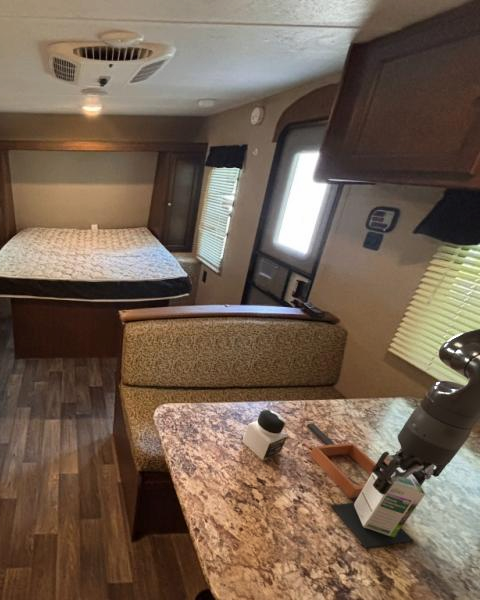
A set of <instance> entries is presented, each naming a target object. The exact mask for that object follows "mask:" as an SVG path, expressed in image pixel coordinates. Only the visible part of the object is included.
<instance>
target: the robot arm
mask: <svg viewBox="0 0 480 600" xmlns="http://www.w3.org/2000/svg"><path fill="white" fill-rule="evenodd" d="M438 358H439V360H440V361H441V363H443V364H444V365H445V366H447V367H448V368H450V369H451V370H453V371H454V372H456V373H458V374H459V375H461V376H462V377H463V378H465V379H466V380H468V382H467V383H466V384H465V385H464V384H461V383H458V382H454V381H449V380H439V381H437V382H434V383H433V384H432V385H431V386H430V388H429V389H428V391H427V392H426V394H425V396H424V397H423V399H422V400H421V402H420V403H419V405H418V406H416V408H415V409H413V411H412V412H411V414H410V416H409V417H408V418H407V420H406V422H405V423H404V425H403V427H402V428H401V430H400V431H399V433H398V434H397V441H398V443H399V445H400V449H398V450H397V451H395V452H394V454H391V453H390V452H389V451H384V452H383V453H382V454H381V455H380V457H379V459H377V462H375V463H376V465H375V466H374V468H373V470H372V472H373V473H374V474H375V475H376V476H377V479H376V481H375V482H374V484H373V486H374V488H375V489H376V490H377V491H378V492H379V493H381V494H386V493H387V492H388V490H389V489H390V487H391V486H392V485H393V483H394V482H395V481H397V480H398V479H399V478H402V479H405V478H407V477H408V476H409V475H411V474H412V475H413V476H414V477H415V478H416V480H417V481H418V483H419V484H420V486H421V487H422V485H423V484H424V482H425V481H427V480H431V478H432V476H433V477H435V478H437V477H439V476H440V475H441V473H442V472H443V471H444V469H445V468H446V467H447V466H448V464H449V463H450V462H452V460H453V459H454V457H455V456H456V455H457V454H458V452H459V451H460V450H461V448H462V447H463V446H464V444H465V443H466V442H467V440H468V439H469V438H470V435H471V433H472V431H473V430H474V428H475V426H476V425H477V423H478V422H479V421H480V328H477V329H474V330H469V331H466V332H462V333H458V334H456V335H454V336H452V337H450V338H449V339H447V340H446V341H445V342H443V344H442V345H441V346H440V348H439V350H438ZM397 468H398V469H401V470H403V471H404V472H400V471H399V470H397ZM394 472H395V475H393V473H394ZM392 475H393V476H392ZM391 476H392V477H391Z"/></svg>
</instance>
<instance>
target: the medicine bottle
mask: <svg viewBox="0 0 480 600" xmlns="http://www.w3.org/2000/svg"><path fill="white" fill-rule="evenodd" d="M285 425H286V420H285V419H284V418H283V416H282V415H281V414H279V413H278V412H276V411H273V410H270V409H264V410H261V411H260V413H259V415H258V418H257V420H255V421H252V422H250V423H248V424H247V426H246V430H245V433H244V435H243V438H242V443H243V444H244V445H245V446H246V447H247V448H248V449H249V450H251V451H252V453H254V454H255V455H256V456H257V457H258V458H259V459H260V460H261V461H262V462H263V461H267V460H268V459H271V458H272V457H275V456H277V455H279V454H281V452H282V449H283V447H284V445H285V443H286V441H287V438H288V434H287V433H286V432H285V431H283V430H284V427H285Z"/></svg>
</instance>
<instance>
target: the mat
mask: <svg viewBox="0 0 480 600" xmlns="http://www.w3.org/2000/svg"><path fill="white" fill-rule="evenodd" d="M354 503H355V502H348V503H339V504H332V505H330V508H331V509H332V510H333V512H335V513H336V514H337V516H338V517H339V518H340V519H341V520H342V522H343V523H344V524H345V525H346V526H347V527H348V529H349V530H350V531H351V532H352V533H353V534H354V536H355V537H356V538H357V539H358V540H359V542H360V543H361V544H362V546H363V547H365V548H366V549H370V548H378V547H384V546H392V545H398V544H404V543H411V542H414V539H413V538H412V537H411V536H410V535H409V534H408V533H407V532H405V530H404V529H403V527H401V529H400V530H399V532H398V533H397V534H396V536H395V537H391V536H389V535H386V534H383V533H380V532H377V531H374V530H371V529H368V528H364V527H363V525H362V523H361V521H360V518H359V516H358V514H357V511H356V509H355V506H354Z"/></svg>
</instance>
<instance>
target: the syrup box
mask: <svg viewBox="0 0 480 600" xmlns="http://www.w3.org/2000/svg"><path fill="white" fill-rule="evenodd" d="M397 470H399V471H400V472H404V471H403V470H402V469H401V468H397ZM393 475H395V472H394V473H393ZM393 475H392V476H393ZM392 476H391V477H392ZM376 479H377V476H376V475H375V474H374V473H372V474H371V475H369V478H368V480H367V481H366V482H365V484H364V485H365V486H364V488H363V490H362V491H361V493H360V495H359V496H358V498H356V500H355V501H354V502H353V503H354V506H355V509H356V511H357V514H358V516H359V518H360V521H361V523H362V525H363V527H364V528H368V529H371V530H374V531H377V532H380V533H383V534H386V535H389V536H391V537H395V536H396V534H397V533H398V532H399V530H400V529H401V528H403V526H404V525H405V523H406V522H407V520H408V519H409V518H410V517H411V515H412V513H414V511H415V510H416V508H417V507H418V505H419V504H420V503H421V501H422V500H423V499H424V497H425V496H426V494H425V491H424V489H423V488H422V485H421V486H420V484H419V483H418V481H417V480H416V478H415V477H414V476H413V475H412V474H411V475H409V476H408V477H407V478H405V479H402V478H399V479H398V480H397V481H395V482H394V483H393V485H392V486H391V487H390V489H389V490H388V492H387V493H386V494H381V493H379V492H378V491H377V490H376V489H375V488H374V486H373V484H374V482H375V481H376Z"/></svg>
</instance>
